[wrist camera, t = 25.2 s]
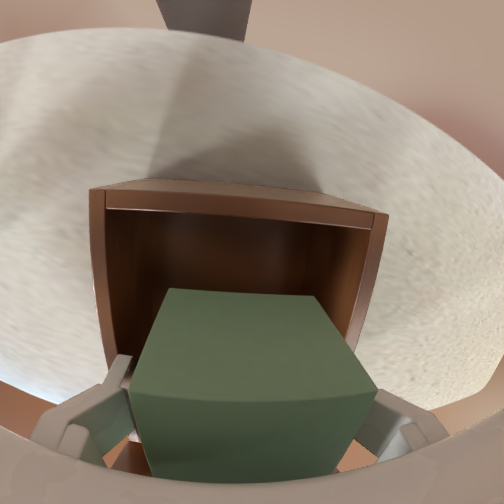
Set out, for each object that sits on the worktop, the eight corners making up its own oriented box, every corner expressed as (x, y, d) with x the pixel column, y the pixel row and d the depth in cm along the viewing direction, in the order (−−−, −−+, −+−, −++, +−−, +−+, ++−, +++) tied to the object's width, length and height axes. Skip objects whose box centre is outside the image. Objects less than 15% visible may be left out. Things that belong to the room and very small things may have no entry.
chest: (145, 178, 18) (88, 188, 10) (323, 193, 20) (389, 214, 11) (150, 363, 22) (129, 440, 14) (290, 369, 24) (315, 445, 16)
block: (168, 287, 9) (126, 389, 4) (314, 295, 10) (379, 389, 5) (173, 394, 10) (159, 494, 6) (290, 397, 11) (320, 492, 6)
